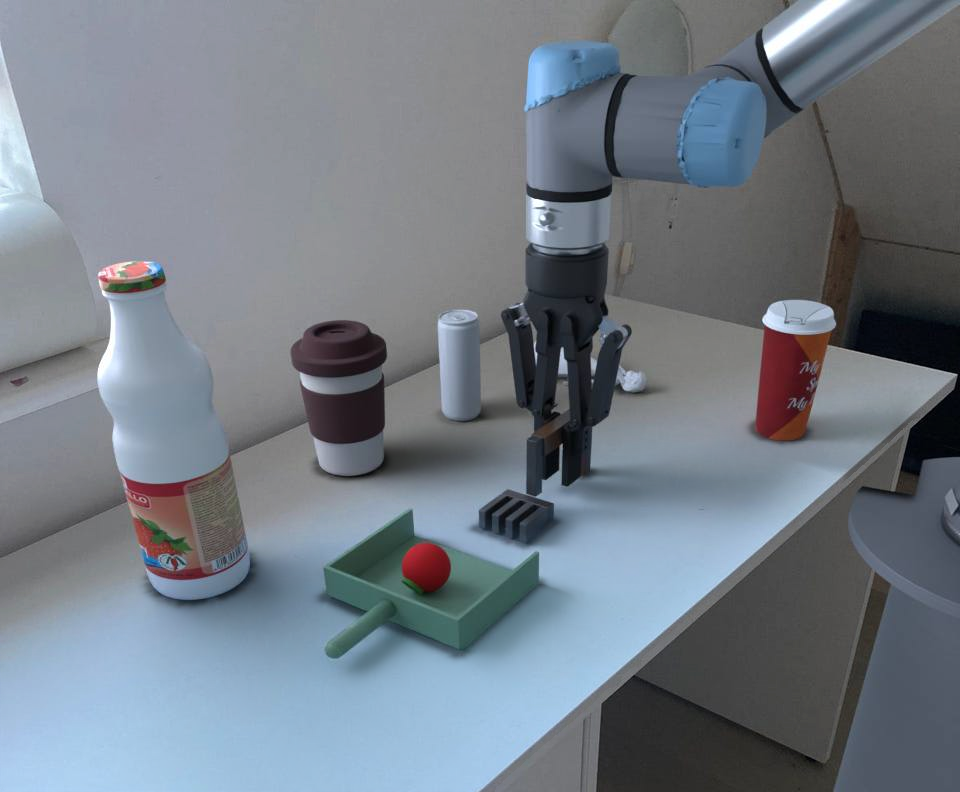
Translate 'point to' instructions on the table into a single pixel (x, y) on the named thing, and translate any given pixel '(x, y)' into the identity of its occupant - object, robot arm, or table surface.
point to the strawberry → (425, 568)
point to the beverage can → (460, 364)
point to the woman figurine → (628, 380)
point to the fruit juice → (169, 441)
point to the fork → (530, 487)
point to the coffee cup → (343, 394)
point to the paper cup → (791, 366)
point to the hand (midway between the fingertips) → (560, 477)
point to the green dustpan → (438, 614)
